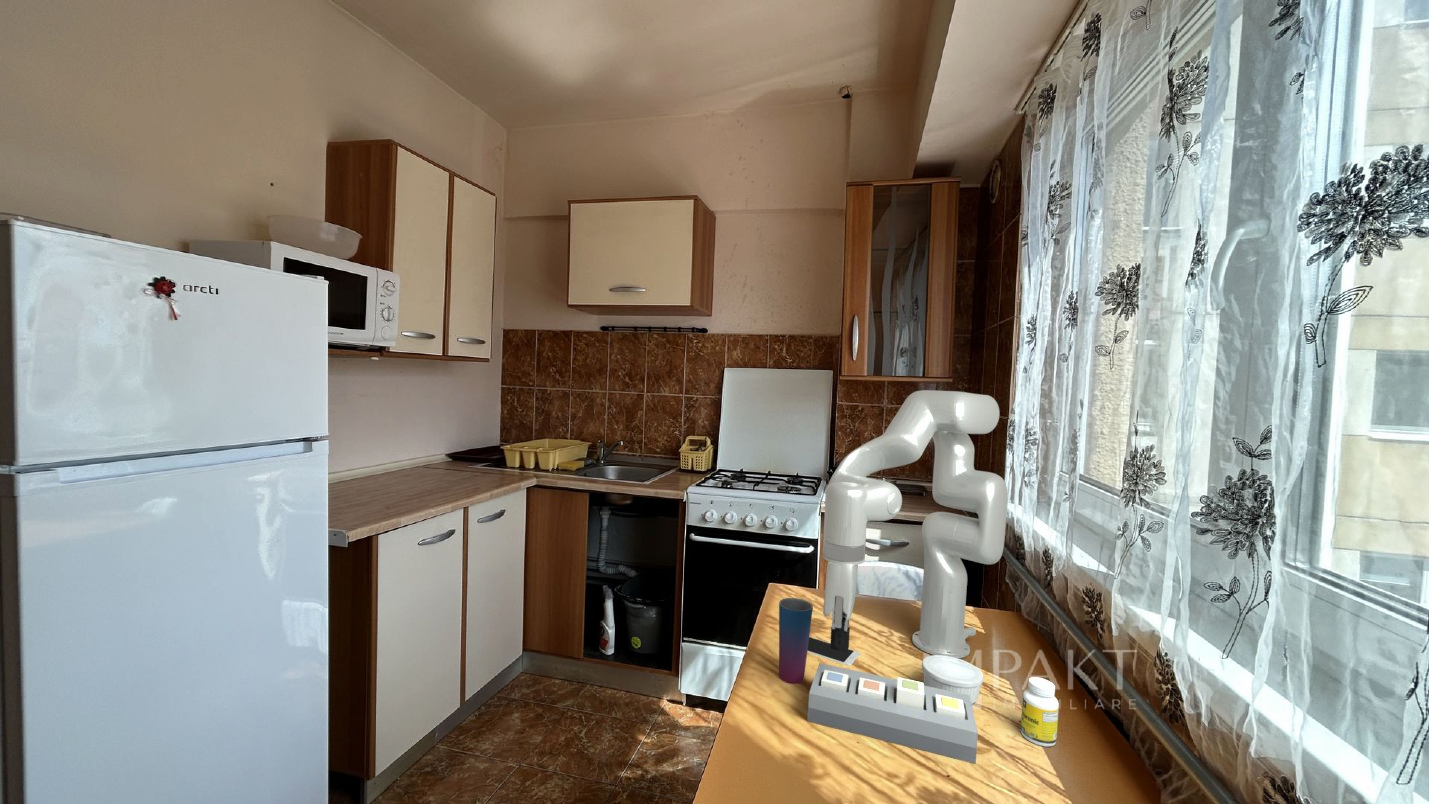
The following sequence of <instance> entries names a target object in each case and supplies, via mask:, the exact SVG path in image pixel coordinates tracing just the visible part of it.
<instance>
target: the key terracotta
mask: <svg viewBox="0 0 1429 804" xmlns="http://www.w3.org/2000/svg"><path fill="white" fill-rule="evenodd" d="M884 691H885V683H883V682H879V681H874V680H870V679H865V678H860V682H859V688H858V695H861V696H866V697H870V698H874V699H879V700H883V701H884Z"/></svg>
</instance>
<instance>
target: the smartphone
mask: <svg viewBox="0 0 1429 804" xmlns="http://www.w3.org/2000/svg"><path fill="white" fill-rule="evenodd" d="M830 643H831V642H827V641H825V640H821V639H818V638H815V637H811V636H809V642H808V650H807V654H811V655H814V656H816V655H817V657H820V658H823V659H826V660H830V661H832V662H835V663H839V664H841V665H845V666H846V667H847V666H849V667H850V666H852V664H854V662H855V661H856V660H857V659H858V658H859V656H860V655H861V653H860V652H859V651H858V650H857V651H856V650H852V649H849V648H848V651H847V652H844V651H838V650H833V649H831V648H830ZM856 658H857V659H856Z"/></svg>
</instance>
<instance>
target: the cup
mask: <svg viewBox="0 0 1429 804" xmlns="http://www.w3.org/2000/svg"><path fill="white" fill-rule="evenodd" d="M813 609H814V606H813V604H812V602H810V601H808V600H806V599H803V598H799V597H798V598H797V597H786V598H782V599H780V600H779V602H778V677H779V679H780V680H781V681H783V682H784V683H787V684H793V685H796V684H800V683H802V682H804V681H805V673H806V665H807V658H808V657H807V656H808V653H807V650H808V642H809V637H810V633H811V625H812V617H813Z"/></svg>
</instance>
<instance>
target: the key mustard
mask: <svg viewBox="0 0 1429 804" xmlns="http://www.w3.org/2000/svg"><path fill="white" fill-rule="evenodd" d="M935 713H940V714H944V715H948V716H953V717H957V718H962V719H965V709H964V704H963V700H961V699H956V698H951V697H947V696H942V695H938V694H936V697H935Z"/></svg>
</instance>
